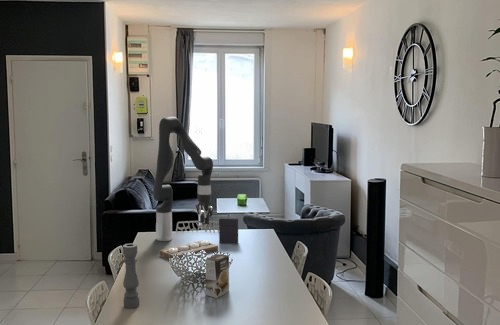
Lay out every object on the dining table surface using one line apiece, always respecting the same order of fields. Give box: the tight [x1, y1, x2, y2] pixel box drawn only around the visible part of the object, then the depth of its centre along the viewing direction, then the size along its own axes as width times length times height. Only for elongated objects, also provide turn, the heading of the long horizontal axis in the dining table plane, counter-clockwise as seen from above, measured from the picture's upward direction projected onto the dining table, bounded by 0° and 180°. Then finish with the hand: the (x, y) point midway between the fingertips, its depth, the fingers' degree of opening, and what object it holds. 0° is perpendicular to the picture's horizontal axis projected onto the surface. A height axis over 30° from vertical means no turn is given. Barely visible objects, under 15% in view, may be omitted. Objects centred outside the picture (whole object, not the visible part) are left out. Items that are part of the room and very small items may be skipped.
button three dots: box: [189, 242, 199, 249], centre depth 271 cm, size 5×5×3 cm
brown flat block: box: [159, 240, 219, 260], centre depth 268 cm, size 14×29×3 cm, turn 132°
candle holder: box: [122, 242, 140, 310], centre depth 196 cm, size 6×6×25 cm
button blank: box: [179, 244, 189, 251], centre depth 266 cm, size 5×5×2 cm
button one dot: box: [200, 240, 210, 246], centre depth 275 cm, size 5×5×3 cm
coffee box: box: [205, 253, 230, 299], centre depth 210 cm, size 9×6×16 cm
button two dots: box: [169, 247, 178, 254], centre depth 261 cm, size 5×5×3 cm
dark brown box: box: [218, 217, 239, 245], centre depth 288 cm, size 11×4×15 cm, turn 84°
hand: (204, 223), depth 274 cm, fingers open, 3 cm apart
